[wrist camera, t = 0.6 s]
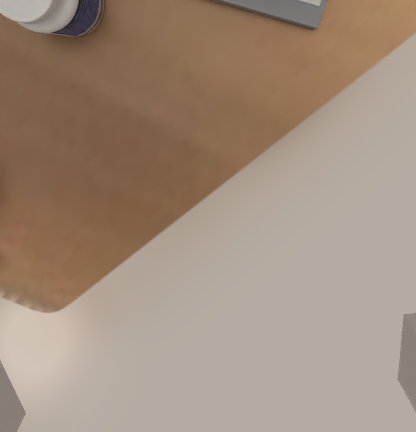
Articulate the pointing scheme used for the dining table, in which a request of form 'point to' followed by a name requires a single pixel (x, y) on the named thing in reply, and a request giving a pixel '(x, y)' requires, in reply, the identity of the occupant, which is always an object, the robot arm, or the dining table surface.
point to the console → (284, 10)
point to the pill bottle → (55, 15)
